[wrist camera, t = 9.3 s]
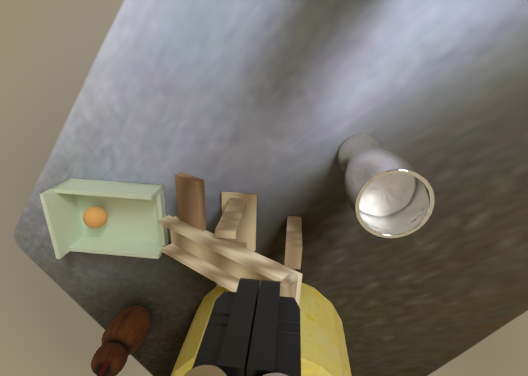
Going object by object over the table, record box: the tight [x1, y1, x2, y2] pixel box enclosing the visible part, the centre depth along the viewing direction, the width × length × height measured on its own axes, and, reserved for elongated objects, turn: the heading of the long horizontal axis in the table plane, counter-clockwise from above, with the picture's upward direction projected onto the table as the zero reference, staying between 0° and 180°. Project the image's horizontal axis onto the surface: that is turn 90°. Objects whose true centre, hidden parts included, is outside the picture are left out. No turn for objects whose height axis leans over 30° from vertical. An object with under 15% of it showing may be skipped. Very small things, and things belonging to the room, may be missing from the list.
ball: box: [83, 206, 108, 228], centre depth 46 cm, size 3×3×3 cm
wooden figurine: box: [91, 305, 151, 376], centre depth 48 cm, size 7×6×15 cm
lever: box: [159, 172, 302, 305], centre depth 35 cm, size 20×11×3 cm
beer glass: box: [338, 134, 435, 238], centre depth 34 cm, size 7×7×15 cm
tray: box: [39, 178, 169, 259], centre depth 44 cm, size 10×14×6 cm
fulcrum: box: [215, 192, 302, 287], centre depth 41 cm, size 12×9×10 cm
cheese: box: [171, 283, 351, 376], centre depth 47 cm, size 26×26×15 cm
